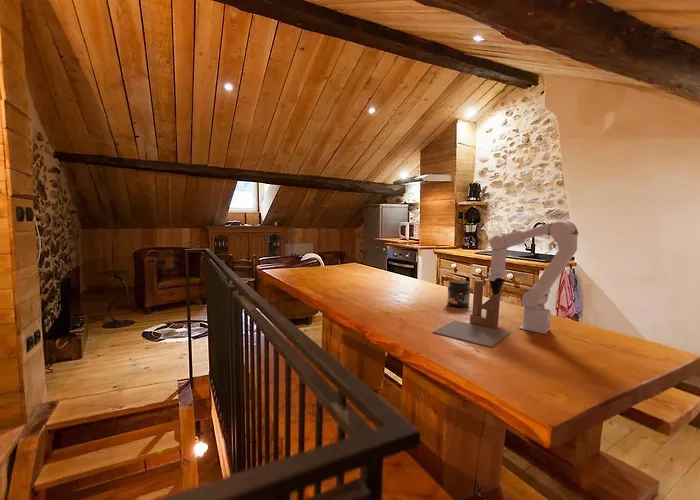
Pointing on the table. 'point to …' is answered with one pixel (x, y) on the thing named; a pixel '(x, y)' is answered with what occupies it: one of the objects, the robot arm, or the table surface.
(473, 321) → the wooden block
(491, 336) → the mat
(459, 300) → the supplement container
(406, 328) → the table surface
